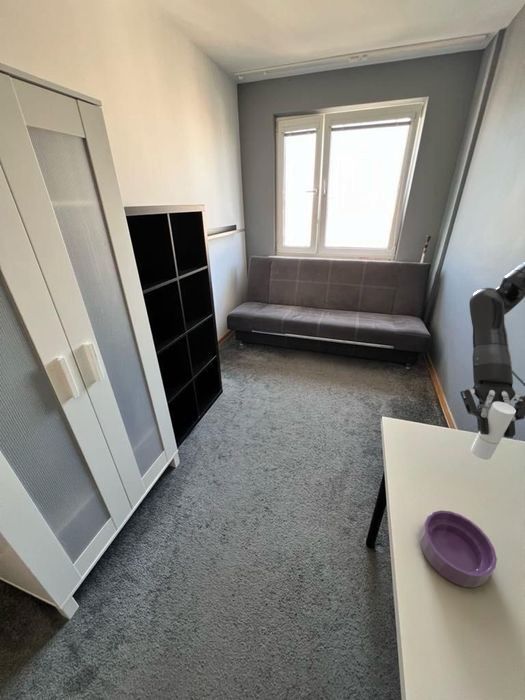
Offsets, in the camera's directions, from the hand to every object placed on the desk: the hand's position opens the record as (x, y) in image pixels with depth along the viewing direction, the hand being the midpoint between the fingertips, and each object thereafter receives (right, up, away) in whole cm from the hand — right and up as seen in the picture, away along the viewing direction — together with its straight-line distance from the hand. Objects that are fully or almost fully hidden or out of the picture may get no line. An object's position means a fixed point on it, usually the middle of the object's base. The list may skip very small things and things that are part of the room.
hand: (496, 435), depth 65 cm
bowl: (-12, -26, -2) cm, 29 cm away
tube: (+1, -6, +6) cm, 8 cm away
